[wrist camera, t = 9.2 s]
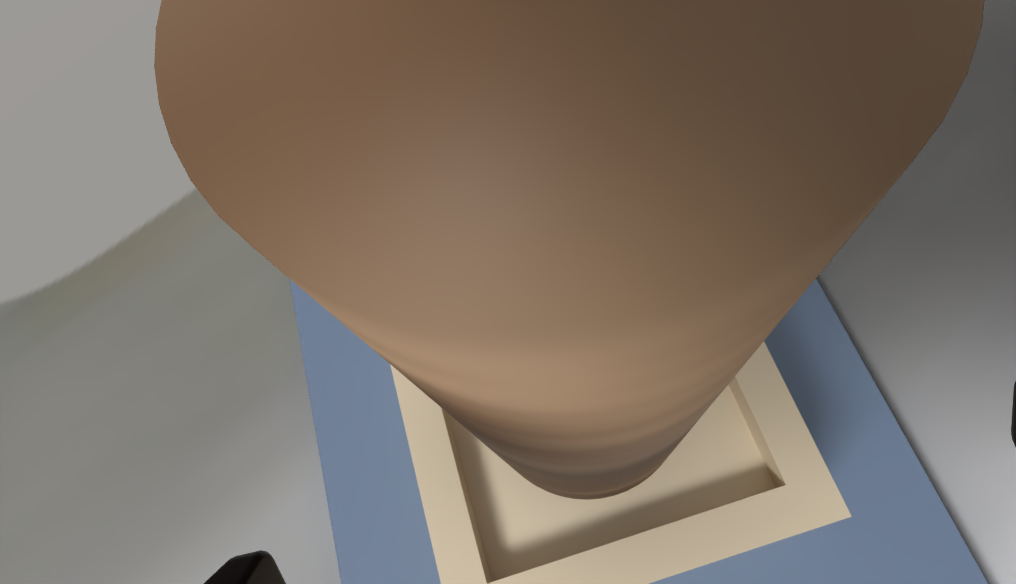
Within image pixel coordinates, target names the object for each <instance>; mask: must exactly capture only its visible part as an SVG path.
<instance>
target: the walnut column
mask: <svg viewBox="0 0 1016 584" xmlns="http://www.w3.org/2000/svg"><path fill="white" fill-rule="evenodd" d="M983 9H984V0H162V2H161V7H160V12H159V16H158V21H157V26H156V41H155V64H154V67H155V75H156V83H157V91H158V99H159V105H160V109H161V112H162V115H163V118H164V122H165V125H166V128H167V131H168V134H169V137H170V140H171V144H172V145H173V147H174V149H175V151H176V153H177V155H178V157H179V159H180V161H181V163H182V165H183V166H184V168H185V170H186V172H187V174H188V176H189V177H190V180H191V181H192V182H193V184H194V185H195V186H196V188H197V189H198V190H199V192H200V193H201V194H202V195H203V197H204V198H205V199H206V201H207V202H208V203H209V204H210V206H211V207H212V208H213V210H214V211H215V212H216V213H217V215H218V216H219V217H220V218H221V219H222V220H223V221H225V222H226V223H227V224H228V225H229V226H230V227H231V228H232V229H233V230H234V231H236V232H237V233H238V234H239V235H240V236H241V237H242V238H243V239H244V240H245V241H247V242H248V243H249V244H250V245H251V246H252V247H253V248H254V249H255V250H257V251H258V252H259V253H260V254H261V255H262V256H264V257H265V258H266V259H267V260H268V261H270V262H271V263H272V264H273V265H274V266H275V267H277V268H278V269H279V270H280V271H281V272H282V273H284V274H285V275H286V276H287V277H288V278H290V279H291V280H292V281H293V282H294V283H295V284H297V285H298V286H299V287H300V288H301V289H302V290H304V291H305V292H306V293H307V294H308V295H310V296H311V297H312V298H313V299H314V300H315V301H317V302H318V303H319V304H320V305H321V306H322V307H324V308H325V309H326V310H327V311H328V312H329V313H331V314H332V315H333V316H334V317H335V318H337V319H338V320H339V321H340V322H341V323H342V324H344V325H345V326H346V327H347V328H348V329H349V330H351V331H352V332H353V333H354V334H355V335H357V336H358V337H359V338H360V339H361V340H362V341H364V342H365V343H366V344H367V345H368V346H369V347H371V348H372V349H373V350H374V351H375V352H377V353H378V354H379V355H380V356H381V357H382V358H384V359H385V360H386V361H387V362H388V363H389V364H391V365H392V366H393V367H394V368H395V369H397V370H398V371H399V372H400V373H401V374H402V375H404V376H405V377H406V378H407V379H408V380H409V381H411V382H412V383H413V384H414V385H415V386H417V387H418V388H419V389H420V390H421V391H422V392H424V393H425V394H426V395H427V396H428V397H429V398H431V399H432V400H433V401H434V402H435V403H437V404H438V405H439V406H440V407H441V408H442V409H444V410H445V411H446V412H447V413H448V414H449V415H451V416H452V417H453V418H454V419H455V420H457V421H458V422H459V423H460V424H461V425H462V426H464V427H465V428H466V429H467V430H468V431H469V432H471V433H472V434H473V435H474V436H475V437H477V438H478V439H479V440H480V441H481V442H482V443H484V444H485V445H486V446H487V447H488V448H489V449H491V450H492V451H493V452H494V453H495V454H497V455H498V456H499V457H500V458H501V459H502V460H504V461H505V462H506V463H507V464H508V465H509V466H511V467H512V468H513V469H514V470H515V471H517V472H518V473H519V474H520V475H521V476H522V477H524V478H525V479H526V480H528V481H529V482H531V483H532V484H534V485H535V486H537V487H539V488H541V489H543V490H545V491H547V492H550V493H553V494H555V495H558V496H562V497H567V498H572V499H584V500H590V499H602V498H606V497H611V496H615V495H618V494H620V493H623V492H626V491H628V490H630V489H632V488H634V487H636V486H637V485H639V484H641V483H642V482H643V481H645V480H646V479H647V478H649V477H650V476H651V475H652V474H653V473H654V472H655V471H656V470H657V469H658V468H659V467H660V466H661V465H662V464H663V462H664V461H665V460H666V459H667V458H668V456H669V455H670V454H671V453H672V452H673V450H674V449H675V448H676V447H677V446H678V444H679V443H680V442H681V441H682V439H683V438H684V437H685V436H686V435H687V433H688V432H689V431H690V430H691V429H692V427H693V426H694V425H695V424H696V423H697V421H698V420H699V419H700V418H701V416H702V415H703V414H704V413H705V412H706V410H707V409H708V408H709V407H710V406H711V404H712V403H713V402H714V401H715V400H716V398H717V397H718V396H719V395H720V394H721V392H722V391H723V390H724V389H725V387H726V386H727V385H728V384H729V383H730V381H731V380H732V379H733V378H734V377H735V375H736V374H737V373H738V372H739V371H740V369H741V368H742V367H743V366H744V364H745V363H746V362H747V361H748V360H749V358H750V357H751V356H752V355H753V354H754V352H755V351H756V350H757V349H758V348H759V346H760V345H761V344H762V343H763V342H764V340H765V339H766V338H767V337H768V335H769V334H770V333H771V332H772V331H773V329H774V328H775V327H776V326H777V325H778V323H779V322H780V321H781V320H782V319H783V317H784V316H785V315H786V314H787V312H788V311H789V310H790V309H791V308H792V306H793V305H794V304H795V303H796V302H797V300H798V299H799V298H800V297H801V296H802V294H803V293H804V292H805V291H806V290H807V288H808V287H809V286H810V285H811V283H812V282H813V281H814V280H815V279H816V277H817V276H818V275H819V274H820V273H821V271H822V270H823V269H824V268H825V267H826V265H827V264H828V263H829V262H830V261H831V259H832V258H833V257H834V256H835V254H836V253H837V252H838V251H839V250H840V248H841V247H842V246H843V245H844V244H845V242H846V241H847V240H848V239H849V238H850V236H851V235H852V234H853V233H854V231H855V230H856V229H857V228H858V227H859V225H860V224H861V223H862V222H863V221H864V219H865V218H866V217H867V216H868V215H869V213H870V212H871V211H872V210H873V209H874V207H875V206H876V205H877V204H878V202H879V201H880V200H881V199H882V198H883V196H884V195H885V194H886V193H887V192H888V190H889V189H890V188H891V187H892V186H893V184H894V183H895V182H896V181H897V179H898V178H899V177H900V176H901V175H902V173H903V172H904V171H905V170H906V169H907V167H908V166H909V165H910V163H911V162H912V161H913V159H914V158H915V157H916V156H917V154H918V153H919V152H920V150H921V149H922V148H923V146H924V145H925V144H926V142H927V141H928V140H929V138H930V137H931V136H932V135H933V133H934V132H935V131H936V129H937V128H938V127H939V125H940V124H941V123H942V121H943V119H944V117H945V116H946V114H947V112H948V110H949V108H950V106H951V104H952V102H953V100H954V98H955V96H956V94H957V92H958V91H959V89H960V87H961V85H962V83H963V81H964V79H965V77H966V75H967V73H968V69H969V66H970V63H971V60H972V56H973V53H974V50H975V47H976V43H977V40H978V37H979V33H980V30H981V27H982V18H983Z"/></svg>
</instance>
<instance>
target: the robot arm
mask: <svg viewBox="0 0 1016 584" xmlns="http://www.w3.org/2000/svg"><path fill="white" fill-rule="evenodd" d="M1011 435H1012V439H1013V442H1014V444H1015V447H1016V382H1015V385H1014V395H1013V410H1012V425H1011ZM204 584H286V583H285V581H284V579H283V577H282V575H281V573H280V571H279V569H278V567H277V565H276V563H275V561H274V559H273V557H272V556H271V555H270V554H269V553H268V552H266V551H256V552H252V553H248V554H243V555H239V556H236V557H233V558H231V559H230V560H228V561H227V562H226V563H225V564H224V565H223V566H222V567H221V568H220V569H219V570H218V571H217V572H216V573H214V574H213V575H212V576H211V577H210V578H209V579H208V580H207V581H206V582H205V583H204Z"/></svg>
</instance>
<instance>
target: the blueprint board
mask: <svg viewBox="0 0 1016 584" xmlns="http://www.w3.org/2000/svg"><path fill="white" fill-rule="evenodd" d="M289 279H290V278H289ZM290 285H291V291H292V296H293V302H294V308H295V314H296V320H297V326H298V332H299V337H300V343H301V349H302V355H303V361H304V367H305V373H306V378H307V384H308V390H309V396H310V402H311V408H312V414H313V419H314V425H315V431H316V437H317V443H318V449H319V455H320V460H321V466H322V472H323V478H324V484H325V490H326V496H327V501H328V507H329V513H330V519H331V525H332V531H333V537H334V542H335V548H336V554H337V560H338V566H339V572H340V578H341V583H342V584H988V582H987V581H986V579H985V577H984V575H983V574H982V572H981V570H980V568H979V567H978V565H977V563H976V561H975V559H974V558H973V556H972V554H971V552H970V551H969V549H968V547H967V545H966V543H965V542H964V540H963V538H962V536H961V535H960V533H959V531H958V529H957V527H956V526H955V524H954V522H953V520H952V519H951V517H950V515H949V513H948V511H947V510H946V508H945V506H944V504H943V503H942V501H941V499H940V497H939V496H938V494H937V492H936V490H935V488H934V487H933V485H932V483H931V481H930V480H929V478H928V476H927V474H926V472H925V471H924V469H923V467H922V465H921V464H920V462H919V460H918V458H917V456H916V455H915V453H914V451H913V449H912V448H911V446H910V444H909V442H908V440H907V439H906V437H905V435H904V433H903V432H902V430H901V428H900V426H899V425H898V423H897V421H896V419H895V417H894V416H893V414H892V412H891V410H890V409H889V407H888V405H887V403H886V401H885V400H884V398H883V396H882V394H881V393H880V391H879V389H878V387H877V385H876V384H875V382H874V380H873V378H872V377H871V375H870V373H869V371H868V369H867V368H866V366H865V364H864V362H863V361H862V359H861V357H860V355H859V353H858V352H857V350H856V348H855V346H854V345H853V343H852V341H851V339H850V338H849V336H848V334H847V332H846V330H845V329H844V327H843V325H842V323H841V322H840V320H839V318H838V316H837V314H836V313H835V311H834V309H833V307H832V306H831V304H830V302H829V300H828V298H827V297H826V295H825V293H824V291H823V290H822V288H821V286H820V284H819V282H818V281H817V279H815V280H814V281H813V282H812V283H811V285H810V286H809V287H808V288H807V290H806V291H805V292H804V293H803V294H802V296H801V297H800V298H799V299H798V300H797V302H796V303H795V304H794V305H793V306H792V308H791V309H790V310H789V311H788V312H787V314H786V315H785V316H784V317H783V319H782V320H781V321H780V322H779V323H778V325H777V326H776V327H775V328H774V329H773V331H772V332H771V333H770V334H769V335H768V337H767V338H766V339H765V340H764V342H763V343H762V344H761V345H760V346H759V348H758V349H757V350H756V351H755V352H754V354H753V355H752V356H751V357H750V358H749V360H748V361H747V362H746V363H745V364H744V366H743V367H742V368H741V369H740V371H739V372H738V373H737V374H736V375H735V377H734V378H733V379H732V380H731V381H730V383H729V384H728V385H727V386H726V387H725V389H724V390H723V391H722V392H721V394H720V395H719V396H718V397H717V398H716V400H715V401H714V402H713V403H712V404H711V406H710V407H709V408H708V409H707V410H706V412H705V413H704V414H703V415H702V416H701V418H700V419H699V420H698V421H697V423H696V424H695V425H694V426H693V427H692V429H691V430H690V431H689V432H688V433H687V435H686V436H685V437H684V438H683V439H682V441H681V442H680V443H679V444H678V446H677V447H676V448H675V449H674V450H673V452H672V453H671V454H670V455H669V456H668V458H667V459H666V460H665V461H664V462H663V464H662V465H661V466H660V467H659V468H658V469H657V470H656V471H655V472H654V473H653V474H652V475H651V476H650V477H649V478H647V479H646V480H645V481H643V482H642V483H641V484H639V485H637V486H636V487H634V488H632V489H630V490H628V491H626V492H623V493H620V494H618V495H615V496H611V497H606V498H602V499H590V500H584V499H572V498H567V497H562V496H558V495H555V494H553V493H550V492H547V491H545V490H543V489H541V488H539V487H537V486H535V485H534V484H532V483H531V482H529V481H528V480H526V479H525V478H524V477H522V476H521V475H520V474H519V473H518V472H517V471H515V470H514V469H513V468H512V467H511V466H509V465H508V464H507V463H506V462H505V461H504V460H502V459H501V458H500V457H499V456H498V455H497V454H495V453H494V452H493V451H492V450H491V449H489V448H488V447H487V446H486V445H485V444H484V443H482V442H481V441H480V440H479V439H478V438H477V437H475V436H474V435H473V434H472V433H471V432H469V431H468V430H467V429H466V428H465V427H464V426H462V425H461V424H460V423H459V422H458V421H457V420H455V419H454V418H453V417H452V416H451V415H449V414H448V413H447V412H446V411H445V410H444V409H442V408H441V407H440V406H439V405H438V404H437V403H435V402H434V401H433V400H432V399H431V398H429V397H428V396H427V395H426V394H425V393H424V392H422V391H421V390H420V389H419V388H418V387H417V386H415V385H414V384H413V383H412V382H411V381H409V380H408V379H407V378H406V377H405V376H404V375H402V374H401V373H400V372H399V371H398V370H397V369H395V368H394V367H393V366H392V365H391V364H389V363H388V362H387V361H386V360H385V359H384V358H382V357H381V356H380V355H379V354H378V353H377V352H375V351H374V350H373V349H372V348H371V347H369V346H368V345H367V344H366V343H365V342H364V341H362V340H361V339H360V338H359V337H358V336H357V335H355V334H354V333H353V332H352V331H351V330H349V329H348V328H347V327H346V326H345V325H344V324H342V323H341V322H340V321H339V320H338V319H337V318H335V317H334V316H333V315H332V314H331V313H329V312H328V311H327V310H326V309H325V308H324V307H322V306H321V305H320V304H319V303H318V302H317V301H315V300H314V299H313V298H312V297H311V296H310V295H308V294H307V293H306V292H305V291H304V290H302V289H301V288H300V287H299V286H298V285H297V284H295V283H294V282H293V281H292V280H291V279H290Z"/></svg>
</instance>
